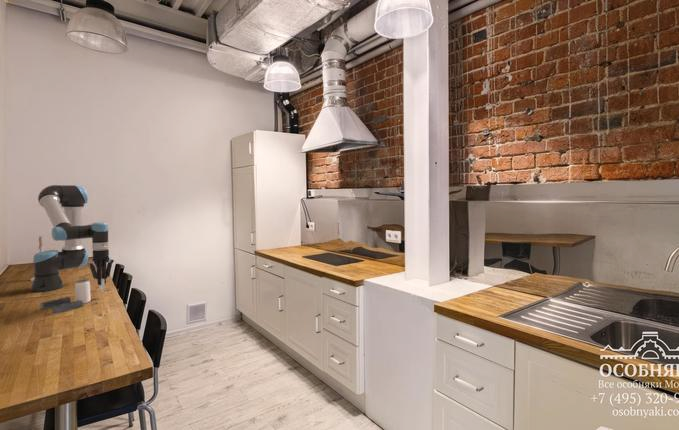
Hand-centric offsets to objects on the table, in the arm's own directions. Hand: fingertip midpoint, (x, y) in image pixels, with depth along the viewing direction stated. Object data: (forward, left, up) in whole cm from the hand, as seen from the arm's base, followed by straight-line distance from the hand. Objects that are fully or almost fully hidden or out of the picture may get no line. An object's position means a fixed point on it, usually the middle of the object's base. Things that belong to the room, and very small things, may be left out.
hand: (102, 289), depth 192 cm
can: (0, -10, -5) cm, 11 cm away
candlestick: (-78, +4, -5) cm, 78 cm away
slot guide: (0, -20, -4) cm, 20 cm away
